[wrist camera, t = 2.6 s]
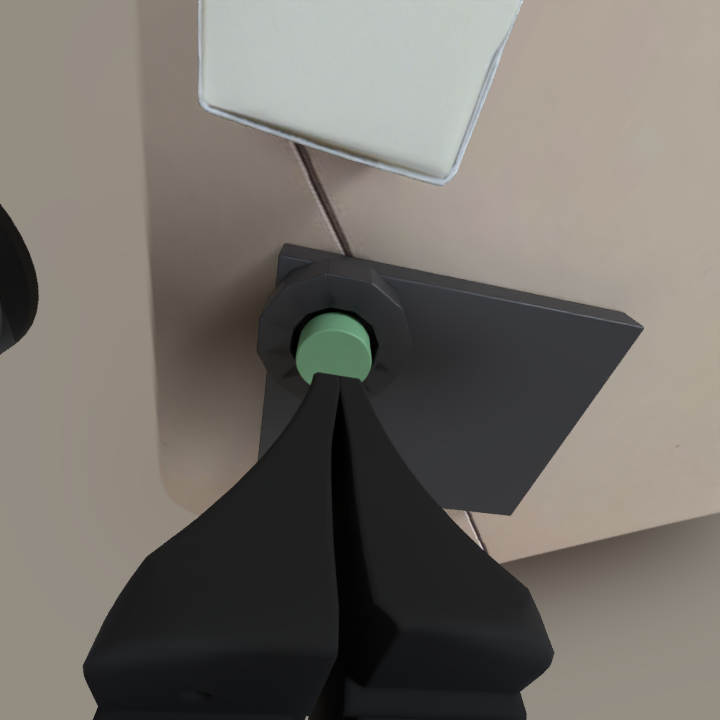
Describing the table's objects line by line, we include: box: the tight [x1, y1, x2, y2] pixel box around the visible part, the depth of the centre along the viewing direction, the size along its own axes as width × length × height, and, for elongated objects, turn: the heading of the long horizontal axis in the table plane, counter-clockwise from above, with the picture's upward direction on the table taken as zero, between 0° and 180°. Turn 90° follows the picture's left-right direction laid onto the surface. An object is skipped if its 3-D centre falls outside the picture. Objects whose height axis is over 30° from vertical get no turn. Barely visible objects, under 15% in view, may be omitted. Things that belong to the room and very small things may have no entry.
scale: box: [257, 244, 644, 516], centre depth 18 cm, size 15×13×3 cm
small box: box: [198, 0, 523, 186], centre depth 8 cm, size 5×4×8 cm
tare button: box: [296, 312, 372, 385], centre depth 13 cm, size 3×3×1 cm
